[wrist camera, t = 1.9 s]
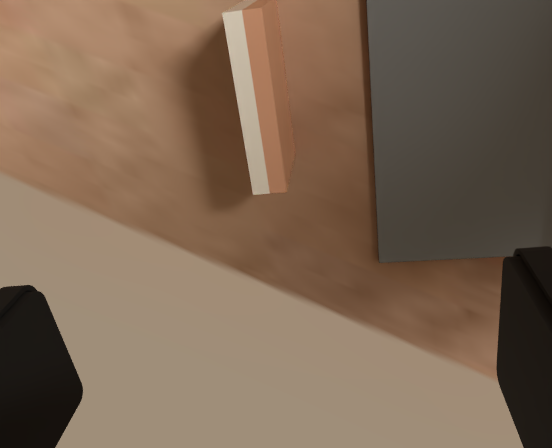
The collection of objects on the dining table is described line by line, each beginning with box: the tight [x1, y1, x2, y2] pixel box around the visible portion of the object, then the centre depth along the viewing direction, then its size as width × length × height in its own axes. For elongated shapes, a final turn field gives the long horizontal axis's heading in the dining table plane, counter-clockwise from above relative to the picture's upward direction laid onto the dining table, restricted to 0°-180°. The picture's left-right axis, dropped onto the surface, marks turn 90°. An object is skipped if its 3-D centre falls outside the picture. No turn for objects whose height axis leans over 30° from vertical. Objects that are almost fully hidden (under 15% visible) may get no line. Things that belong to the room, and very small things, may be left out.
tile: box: [222, 0, 296, 195], centre depth 24 cm, size 8×2×5 cm, turn 8°
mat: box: [366, 0, 552, 263], centre depth 25 cm, size 18×16×2 cm
